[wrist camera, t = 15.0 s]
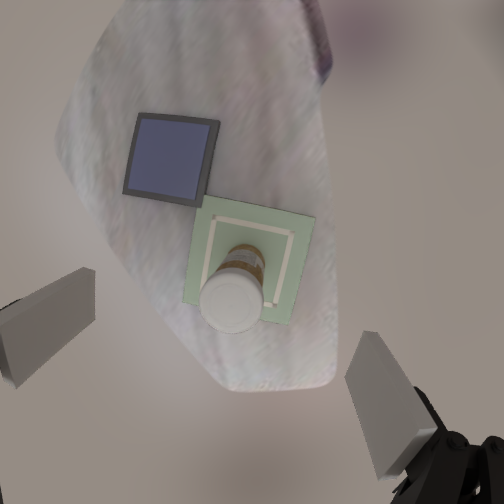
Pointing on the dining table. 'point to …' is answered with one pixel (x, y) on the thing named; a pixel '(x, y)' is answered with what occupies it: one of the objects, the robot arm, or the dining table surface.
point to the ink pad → (171, 158)
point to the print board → (260, 236)
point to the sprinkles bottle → (235, 291)
